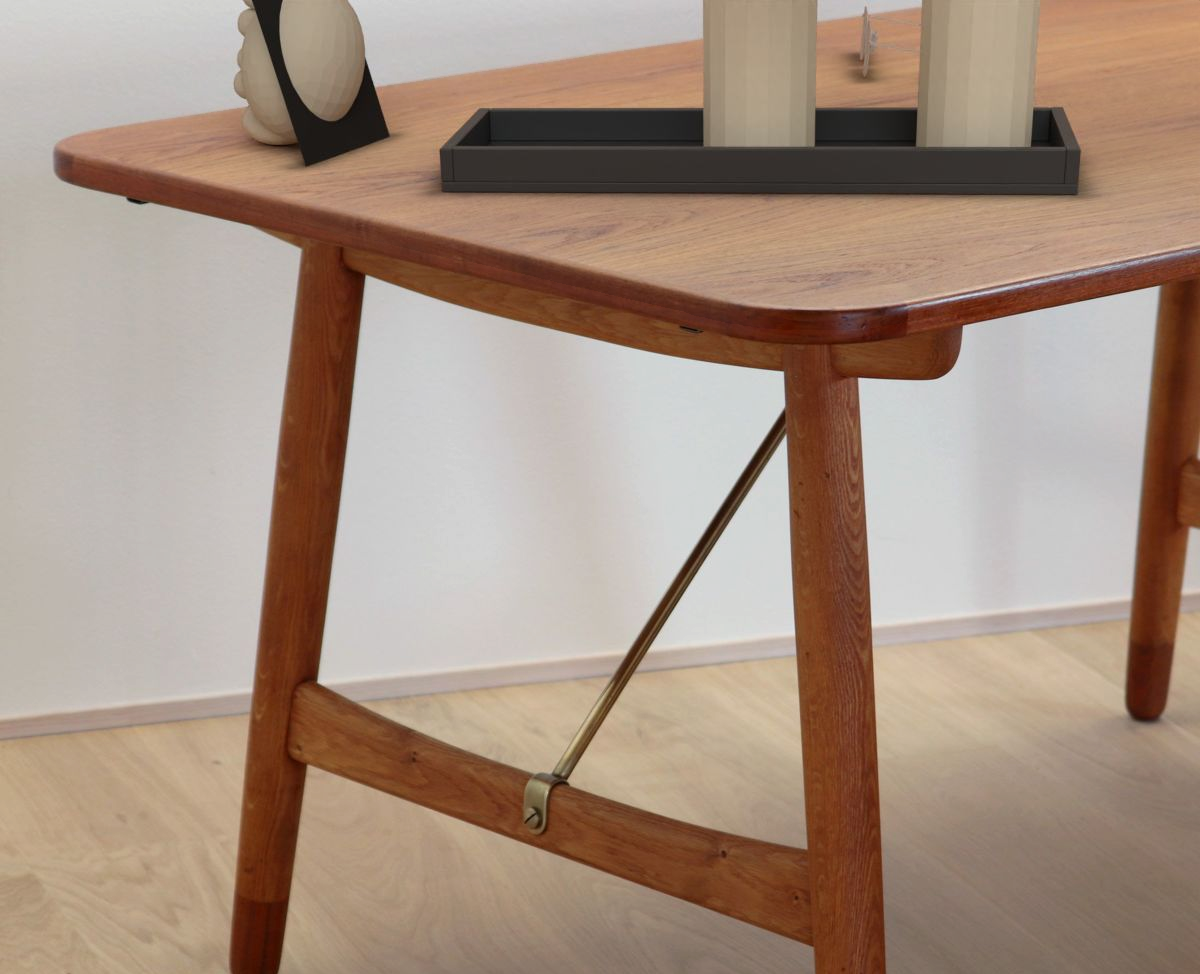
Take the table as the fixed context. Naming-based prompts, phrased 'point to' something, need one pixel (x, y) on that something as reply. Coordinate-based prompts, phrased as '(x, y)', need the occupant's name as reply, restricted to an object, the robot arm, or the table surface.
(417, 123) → the table surface
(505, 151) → the tray
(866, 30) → the eyeglasses
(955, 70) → the cream bottle far
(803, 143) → the cream bottle mid
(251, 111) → the decorative object
